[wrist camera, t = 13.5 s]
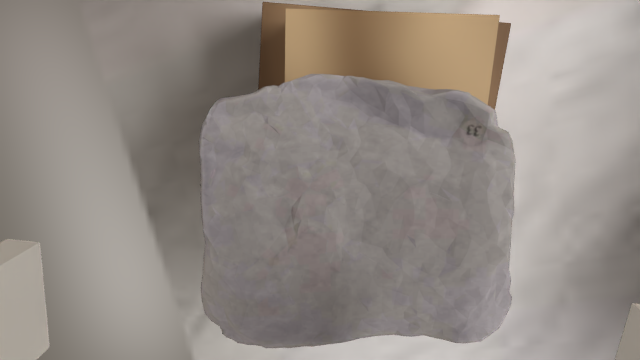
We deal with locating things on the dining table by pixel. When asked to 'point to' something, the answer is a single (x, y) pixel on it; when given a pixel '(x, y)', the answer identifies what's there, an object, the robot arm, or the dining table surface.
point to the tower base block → (276, 12)
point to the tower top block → (394, 47)
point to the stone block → (355, 213)
